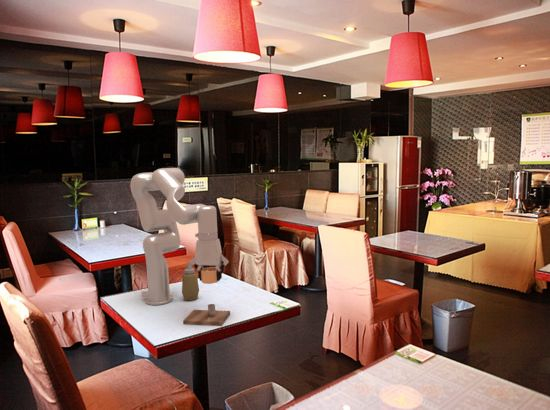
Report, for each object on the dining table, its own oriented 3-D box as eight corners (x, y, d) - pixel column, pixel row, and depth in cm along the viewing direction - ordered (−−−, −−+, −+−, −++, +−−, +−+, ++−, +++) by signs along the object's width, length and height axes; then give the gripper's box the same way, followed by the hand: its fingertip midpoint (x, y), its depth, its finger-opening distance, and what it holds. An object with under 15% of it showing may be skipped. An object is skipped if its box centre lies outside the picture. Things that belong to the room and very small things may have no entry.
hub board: (183, 324, 166) (182, 309, 165) (194, 312, 178) (193, 299, 177) (221, 325, 163) (221, 311, 162) (230, 314, 175) (229, 300, 174)
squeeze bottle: (201, 296, 199) (199, 259, 197) (196, 301, 191) (194, 263, 189) (185, 295, 200) (183, 259, 198) (179, 301, 192) (177, 263, 190)
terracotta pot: (205, 278, 172) (204, 265, 171) (220, 278, 171) (219, 265, 170) (199, 283, 165) (199, 270, 165) (215, 283, 164) (214, 270, 164)
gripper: (184, 238, 164) (186, 282, 166) (226, 238, 161) (228, 283, 163) (191, 234, 171) (193, 276, 173) (231, 234, 168) (233, 277, 170)
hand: (210, 279), depth 168 cm, fingers closed on terracotta pot, 6 cm apart
